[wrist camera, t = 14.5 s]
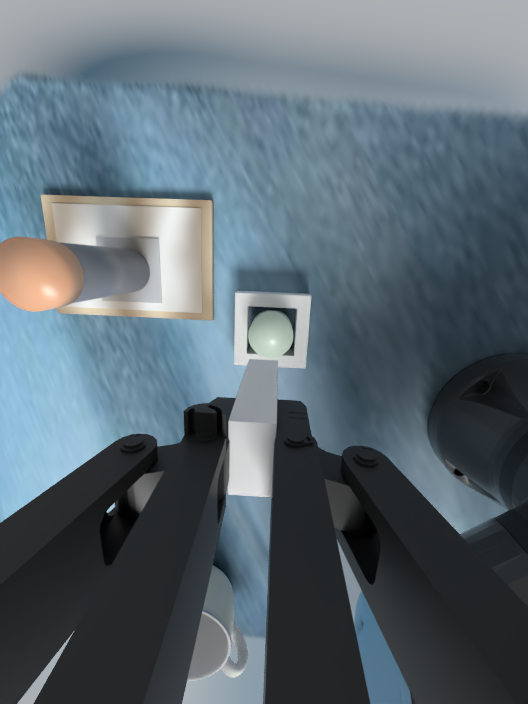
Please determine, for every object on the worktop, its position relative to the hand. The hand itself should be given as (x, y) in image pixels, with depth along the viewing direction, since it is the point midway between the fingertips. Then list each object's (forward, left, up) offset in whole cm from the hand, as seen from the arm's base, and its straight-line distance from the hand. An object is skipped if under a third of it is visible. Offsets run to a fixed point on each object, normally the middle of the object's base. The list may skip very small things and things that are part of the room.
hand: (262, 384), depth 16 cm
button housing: (0, 0, -16) cm, 16 cm away
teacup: (+7, +36, -16) cm, 40 cm away
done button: (0, 0, -14) cm, 14 cm away
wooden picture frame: (+14, -6, -16) cm, 22 cm away
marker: (+14, -5, -15) cm, 21 cm away
